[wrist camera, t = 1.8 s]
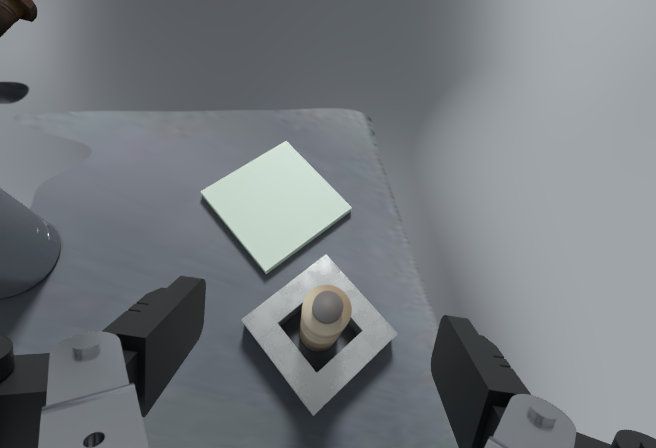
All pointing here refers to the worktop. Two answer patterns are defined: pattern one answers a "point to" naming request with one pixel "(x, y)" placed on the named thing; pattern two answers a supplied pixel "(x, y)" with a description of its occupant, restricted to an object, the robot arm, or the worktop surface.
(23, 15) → the bolt
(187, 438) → the worktop surface
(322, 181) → the set down board
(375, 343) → the grey square frame
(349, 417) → the worktop surface
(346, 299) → the key peg
